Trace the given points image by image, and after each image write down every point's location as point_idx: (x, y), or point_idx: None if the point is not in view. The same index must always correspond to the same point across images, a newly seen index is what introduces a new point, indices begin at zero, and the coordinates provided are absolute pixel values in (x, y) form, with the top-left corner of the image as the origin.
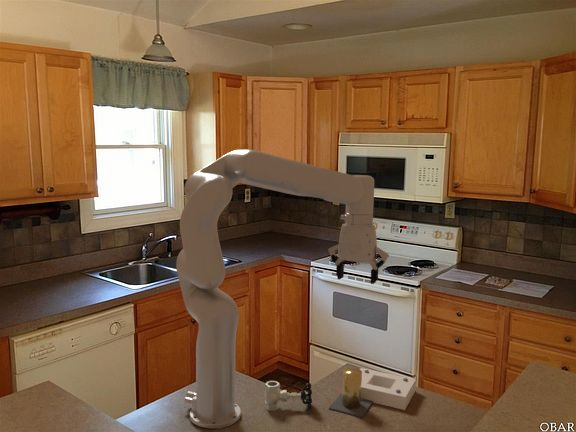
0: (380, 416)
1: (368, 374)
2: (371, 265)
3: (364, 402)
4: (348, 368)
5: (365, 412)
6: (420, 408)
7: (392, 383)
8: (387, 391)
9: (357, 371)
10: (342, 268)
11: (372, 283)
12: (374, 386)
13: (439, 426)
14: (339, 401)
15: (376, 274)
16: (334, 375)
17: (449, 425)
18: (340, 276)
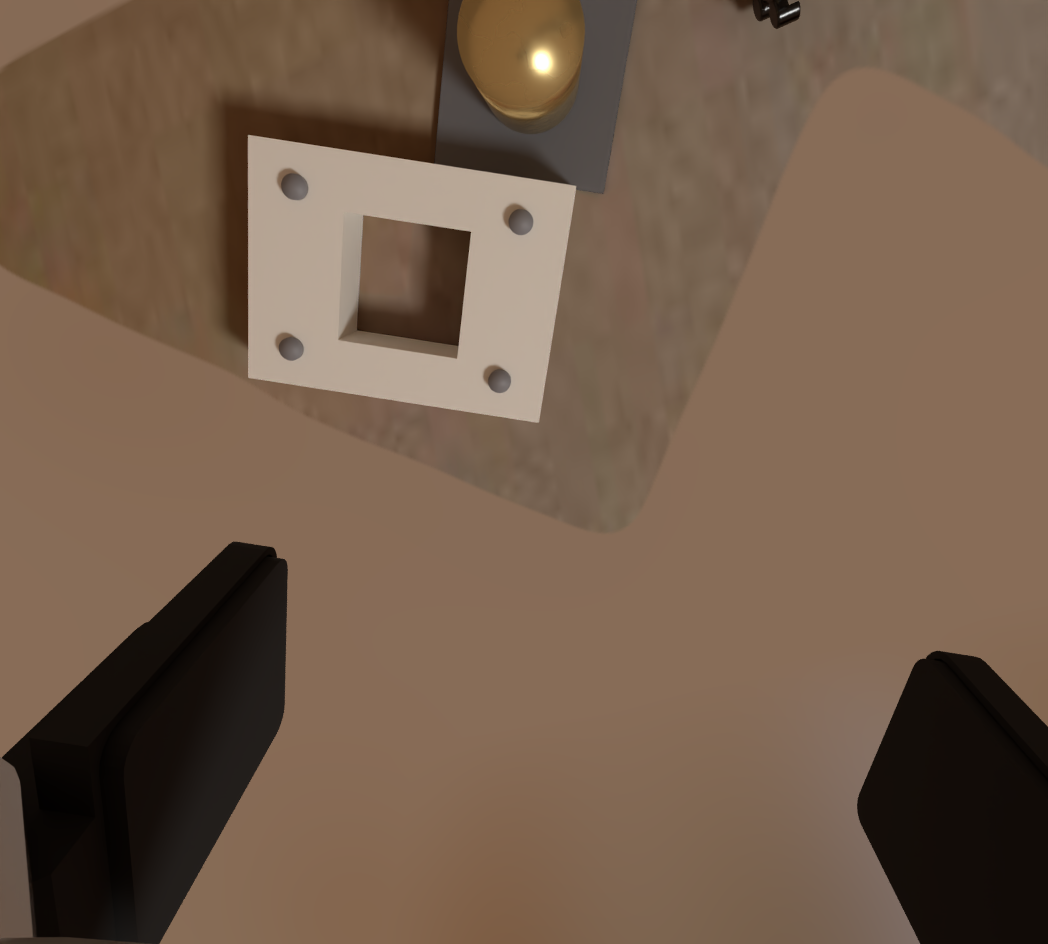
0: (371, 20)
1: (485, 354)
2: (7, 896)
3: (471, 133)
4: (557, 79)
5: (447, 24)
6: (214, 192)
7: (363, 339)
8: (349, 171)
9: (489, 50)
10: (987, 938)
11: (243, 544)
12: (426, 210)
13: (94, 29)
14: (596, 91)
15: (67, 697)
16: (671, 407)
17: (57, 60)
18: (937, 710)
